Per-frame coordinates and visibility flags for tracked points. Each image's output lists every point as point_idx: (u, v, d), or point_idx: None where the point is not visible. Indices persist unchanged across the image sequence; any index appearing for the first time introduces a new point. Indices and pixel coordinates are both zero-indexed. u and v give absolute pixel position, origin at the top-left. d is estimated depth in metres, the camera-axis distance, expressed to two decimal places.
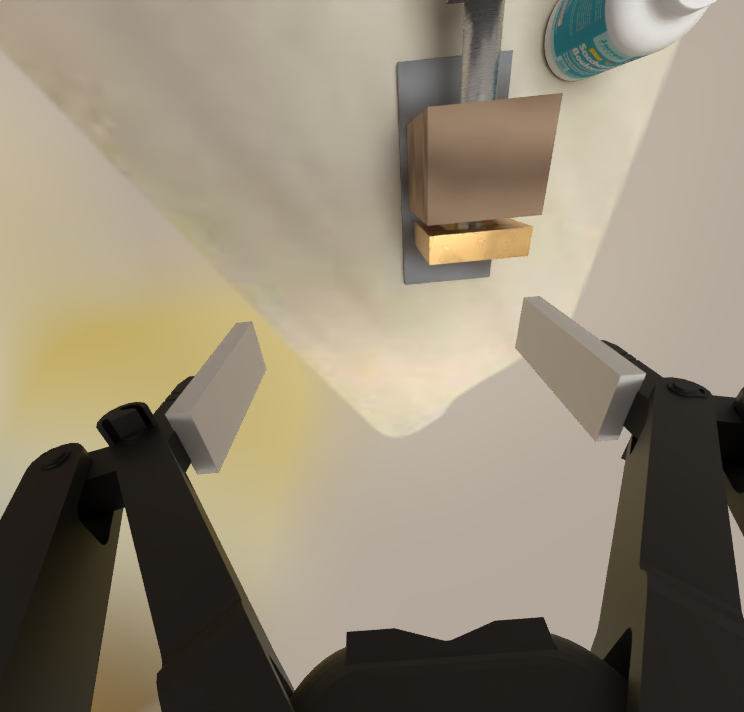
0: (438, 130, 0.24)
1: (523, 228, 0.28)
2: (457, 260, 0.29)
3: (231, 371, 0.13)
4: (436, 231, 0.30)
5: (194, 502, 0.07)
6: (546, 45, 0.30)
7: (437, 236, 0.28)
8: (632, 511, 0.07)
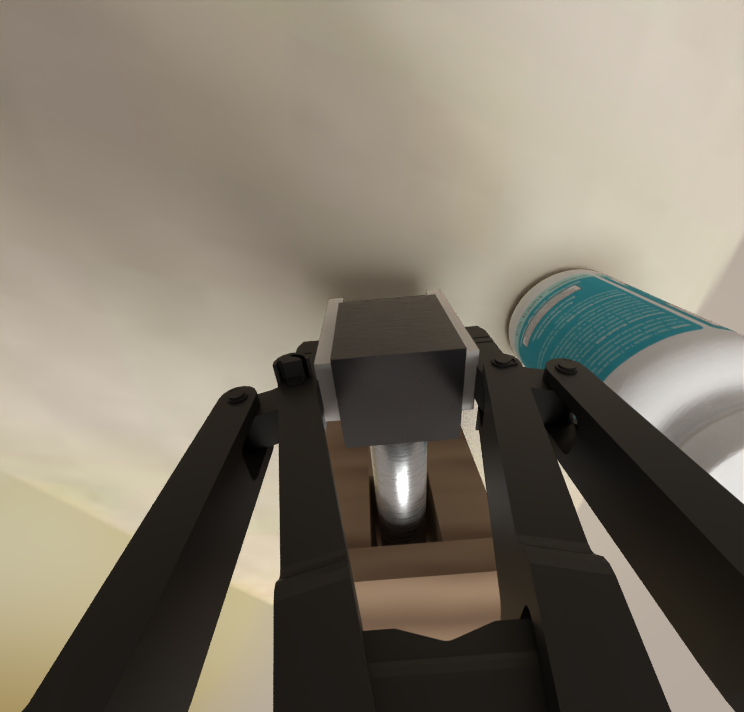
0: None
1: None
2: None
3: None
4: None
5: (327, 452, 0.08)
6: (510, 340, 0.22)
7: None
8: (497, 482, 0.08)
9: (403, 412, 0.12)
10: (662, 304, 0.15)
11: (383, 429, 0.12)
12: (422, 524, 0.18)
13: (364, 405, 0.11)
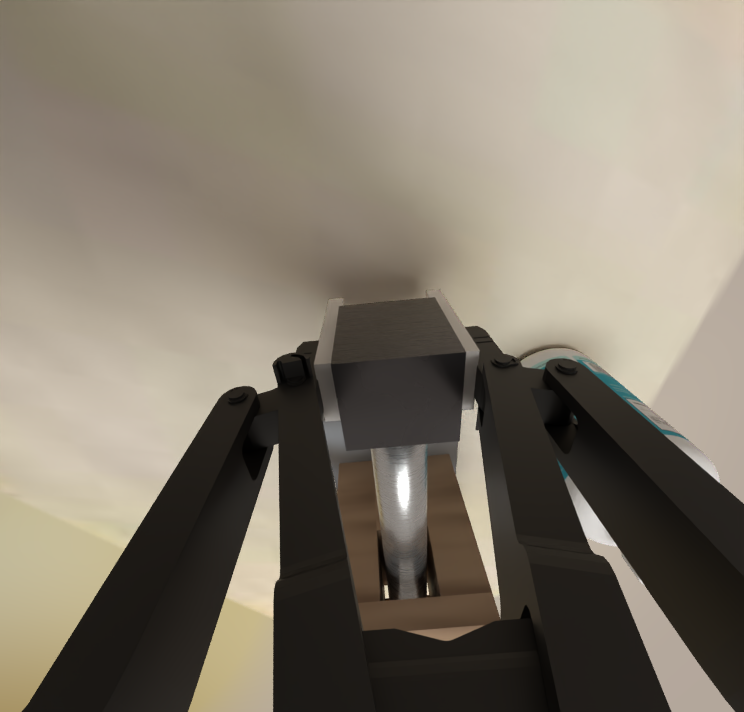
0: None
1: None
2: None
3: None
4: None
5: (326, 452, 0.08)
6: None
7: None
8: (497, 482, 0.08)
9: (403, 415, 0.12)
10: None
11: (384, 432, 0.12)
12: (423, 525, 0.18)
13: (364, 409, 0.11)
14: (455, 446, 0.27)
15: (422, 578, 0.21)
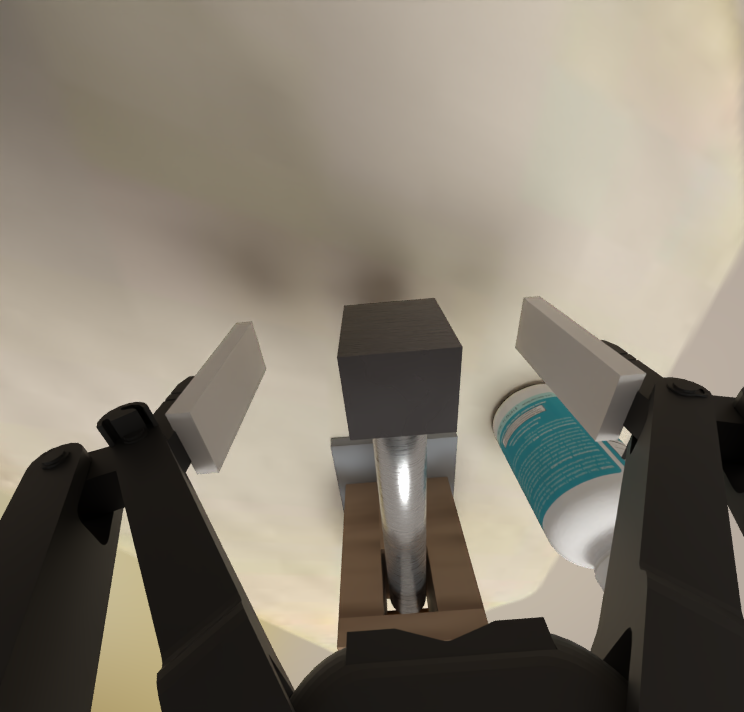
0: None
1: None
2: None
3: (231, 371, 0.13)
4: None
5: (194, 502, 0.07)
6: (494, 433, 0.28)
7: None
8: (632, 511, 0.07)
9: (404, 407, 0.12)
10: None
11: (385, 422, 0.13)
12: (422, 517, 0.19)
13: (368, 400, 0.12)
14: (453, 469, 0.30)
15: (421, 571, 0.21)
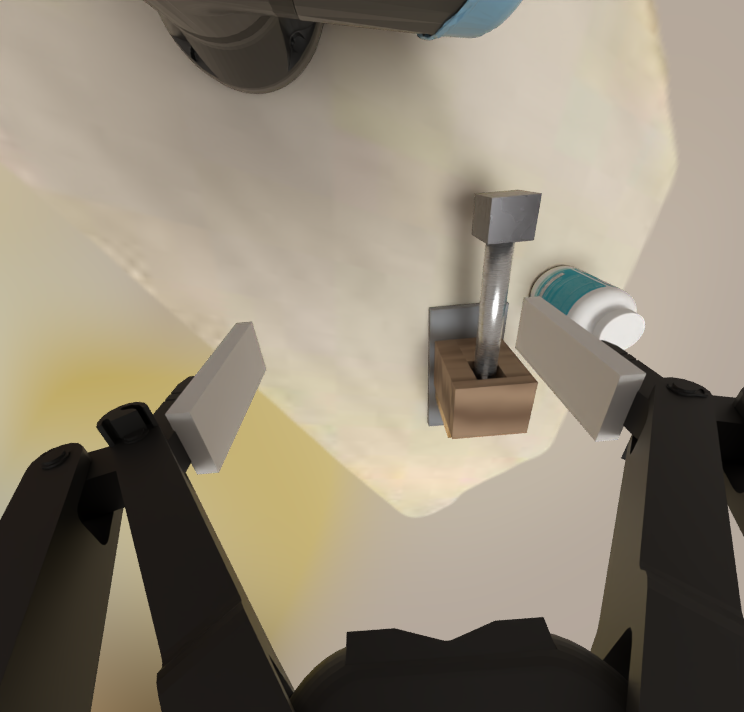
0: (461, 398, 0.38)
1: None
2: None
3: (231, 371, 0.13)
4: None
5: (194, 502, 0.07)
6: None
7: None
8: (632, 511, 0.07)
9: (513, 225, 0.30)
10: (595, 279, 0.38)
11: (504, 234, 0.30)
12: (504, 312, 0.36)
13: (499, 221, 0.30)
14: (503, 330, 0.47)
15: (497, 356, 0.39)
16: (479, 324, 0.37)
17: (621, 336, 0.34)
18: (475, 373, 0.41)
